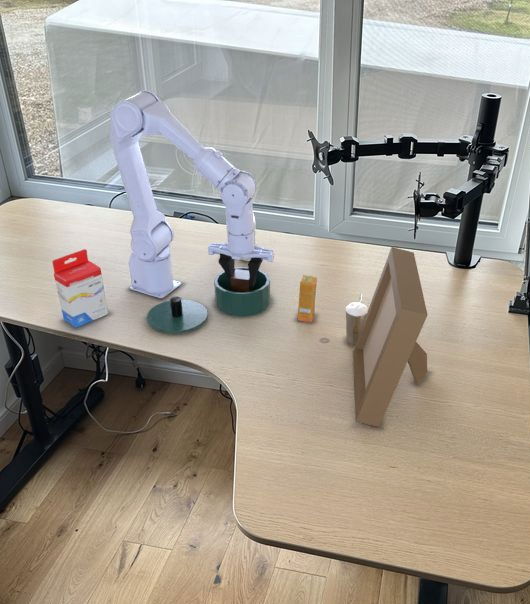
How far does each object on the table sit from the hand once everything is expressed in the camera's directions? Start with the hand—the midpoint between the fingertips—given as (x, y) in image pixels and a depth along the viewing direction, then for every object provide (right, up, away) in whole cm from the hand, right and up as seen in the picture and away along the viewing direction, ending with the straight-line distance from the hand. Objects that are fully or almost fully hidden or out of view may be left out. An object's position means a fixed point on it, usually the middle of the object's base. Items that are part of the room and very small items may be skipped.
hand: (242, 285), depth 149 cm
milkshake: (+25, -13, -9) cm, 29 cm away
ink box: (-34, -8, -4) cm, 35 cm away
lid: (-14, -7, -4) cm, 16 cm away
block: (0, -1, +1) cm, 1 cm away
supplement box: (+15, -8, -2) cm, 17 cm away
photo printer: (-1, +11, +23) cm, 26 cm away
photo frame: (+31, -23, -22) cm, 44 cm away
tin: (0, -4, +3) cm, 5 cm away
